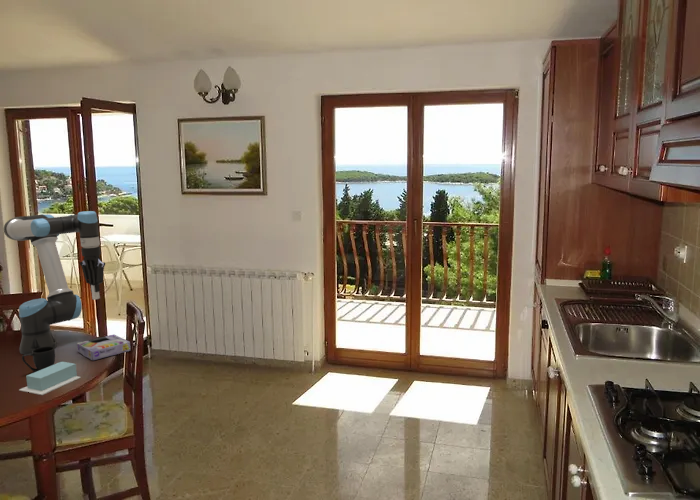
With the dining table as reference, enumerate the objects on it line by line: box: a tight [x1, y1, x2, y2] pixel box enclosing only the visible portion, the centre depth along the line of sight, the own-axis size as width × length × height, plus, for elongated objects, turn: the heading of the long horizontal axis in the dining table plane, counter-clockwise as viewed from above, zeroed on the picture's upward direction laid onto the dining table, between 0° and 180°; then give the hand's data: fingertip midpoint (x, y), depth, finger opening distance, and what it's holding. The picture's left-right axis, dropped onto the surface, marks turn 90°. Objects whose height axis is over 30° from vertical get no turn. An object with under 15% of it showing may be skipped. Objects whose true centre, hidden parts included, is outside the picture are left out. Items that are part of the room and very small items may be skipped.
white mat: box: [18, 375, 81, 396], centre depth 219 cm, size 13×18×1 cm
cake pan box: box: [76, 334, 131, 361], centre depth 255 cm, size 19×5×18 cm
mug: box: [21, 346, 56, 373], centre depth 231 cm, size 8×12×10 cm
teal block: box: [26, 361, 78, 391], centre depth 220 cm, size 8×5×16 cm
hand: (96, 298), depth 246 cm, fingers closed
